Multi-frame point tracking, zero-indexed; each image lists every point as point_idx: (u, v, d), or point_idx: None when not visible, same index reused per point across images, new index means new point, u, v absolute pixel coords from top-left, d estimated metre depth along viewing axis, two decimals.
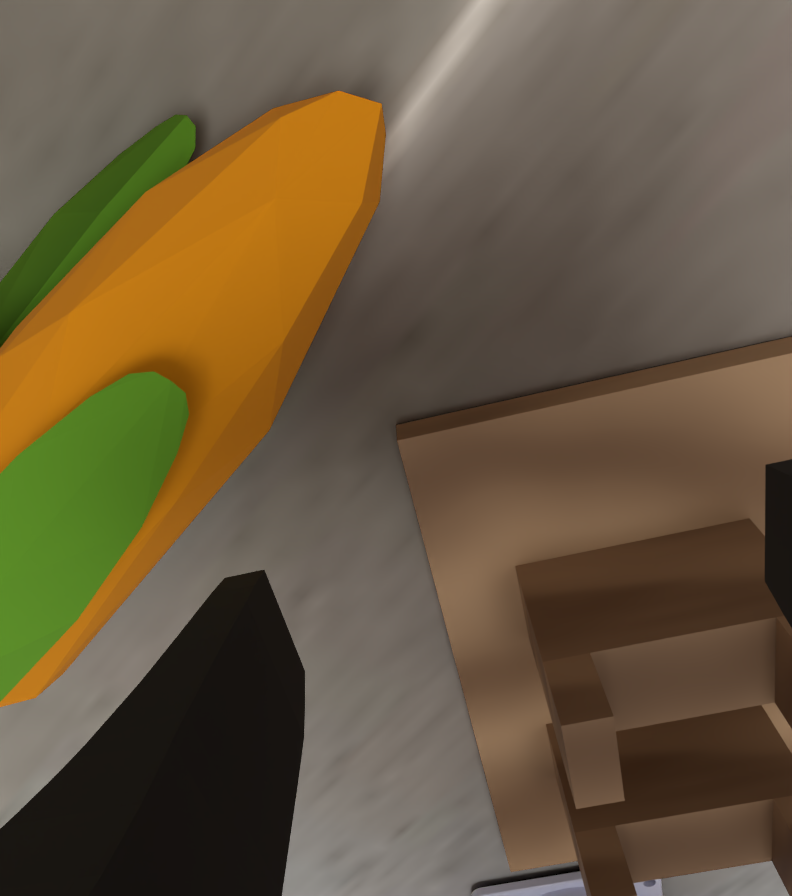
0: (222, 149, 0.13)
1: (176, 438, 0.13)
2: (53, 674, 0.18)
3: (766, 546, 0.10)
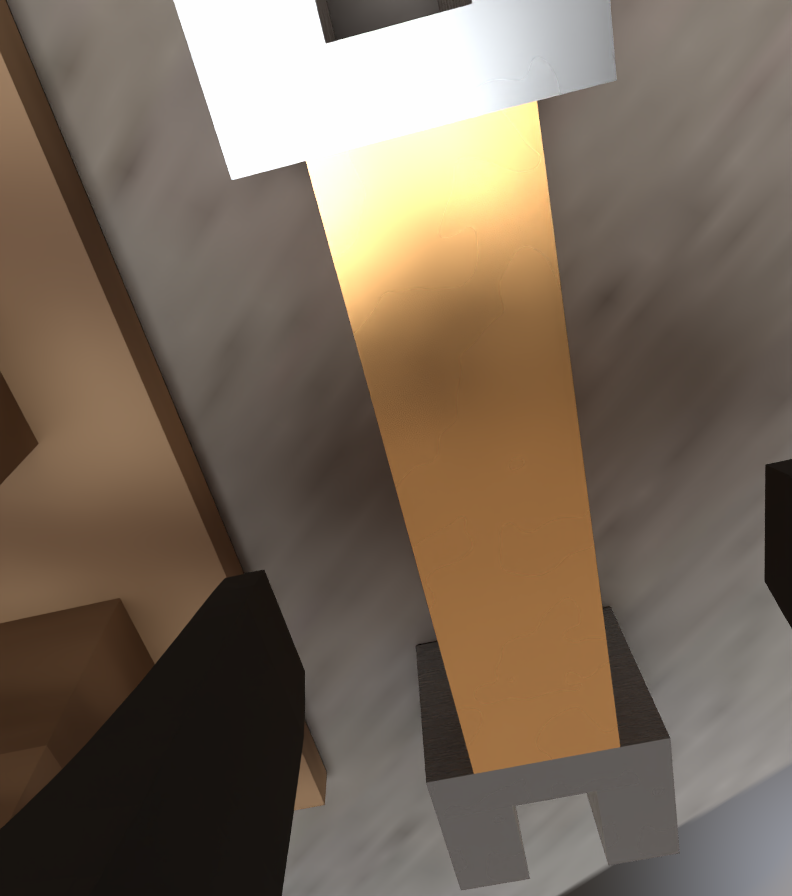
0: None
1: None
2: None
3: (766, 546, 0.10)
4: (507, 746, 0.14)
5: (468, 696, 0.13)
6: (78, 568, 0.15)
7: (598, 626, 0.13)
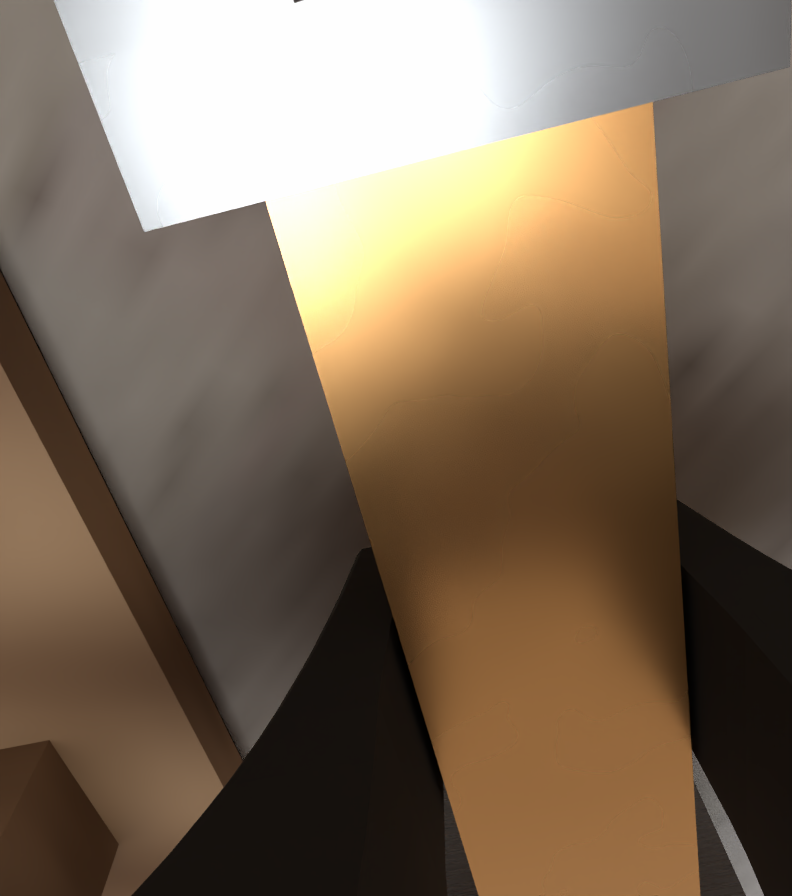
0: None
1: None
2: None
3: None
4: None
5: None
6: None
7: (687, 830, 0.09)
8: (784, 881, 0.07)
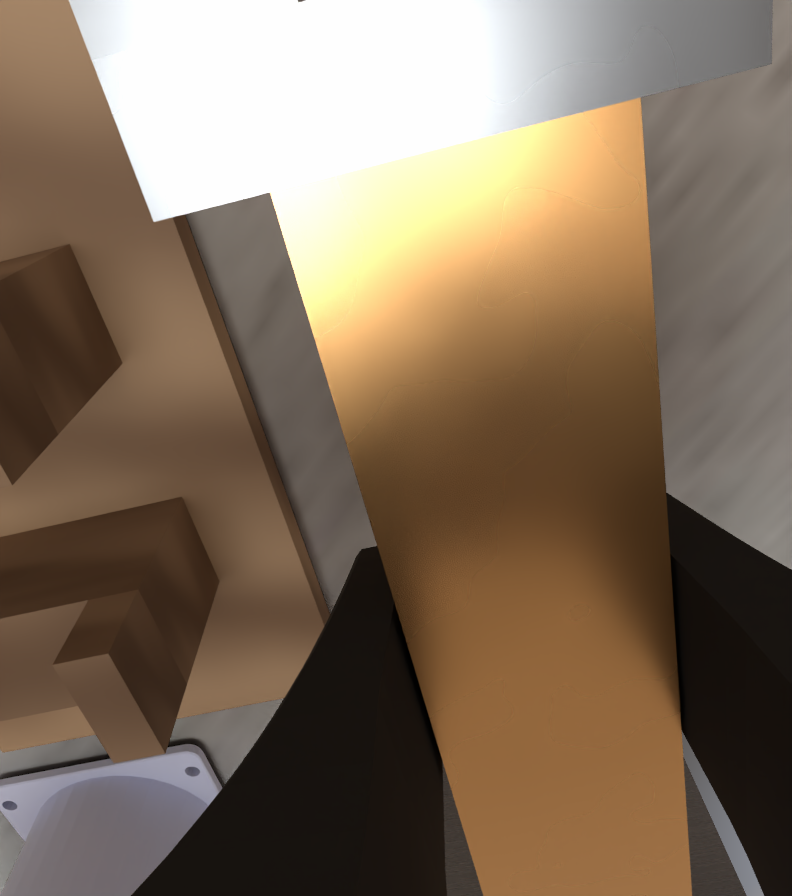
0: None
1: None
2: None
3: None
4: None
5: (500, 883, 0.10)
6: (149, 470, 0.19)
7: (677, 805, 0.10)
8: (784, 881, 0.07)
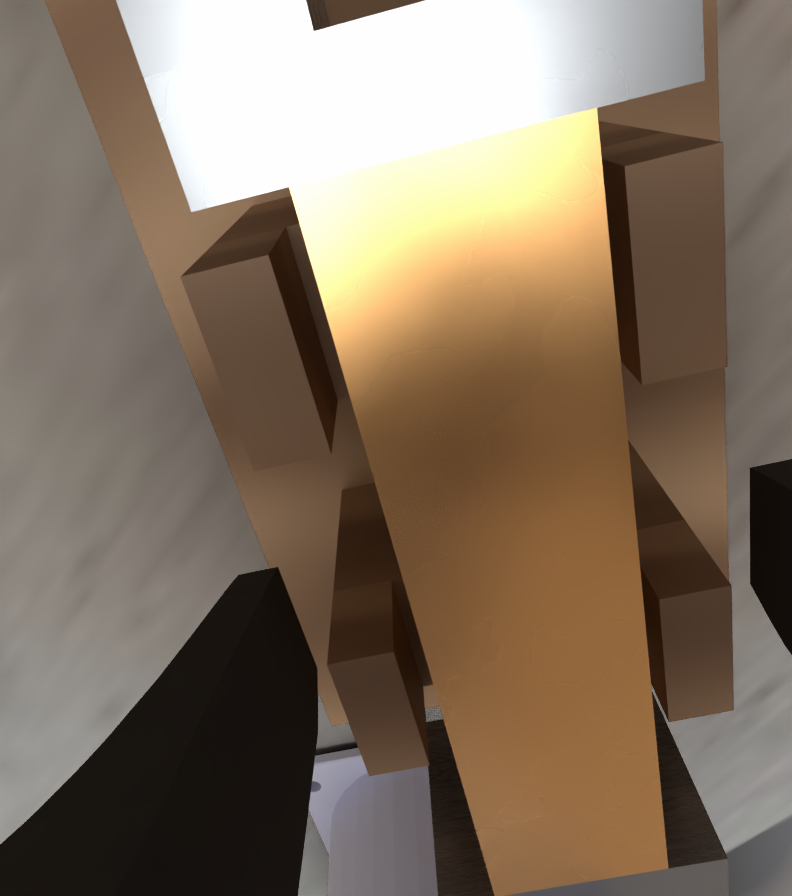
0: None
1: None
2: None
3: (751, 549, 0.10)
4: (535, 868, 0.12)
5: (489, 816, 0.11)
6: None
7: (648, 740, 0.11)
8: None
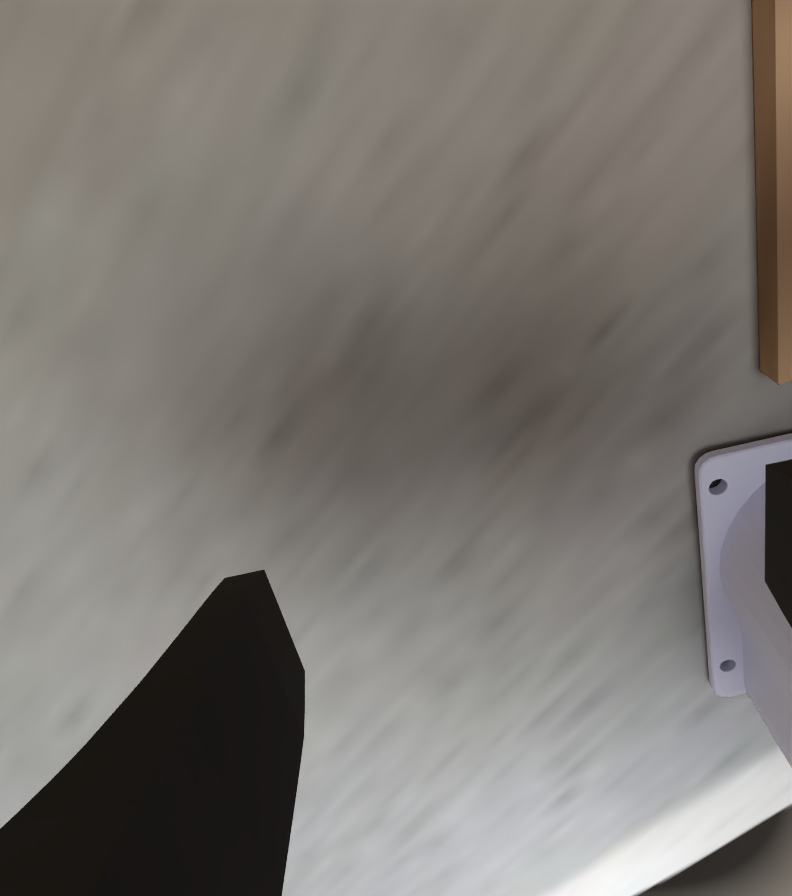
0: None
1: None
2: None
3: (766, 546, 0.10)
4: None
5: None
6: None
7: None
8: None
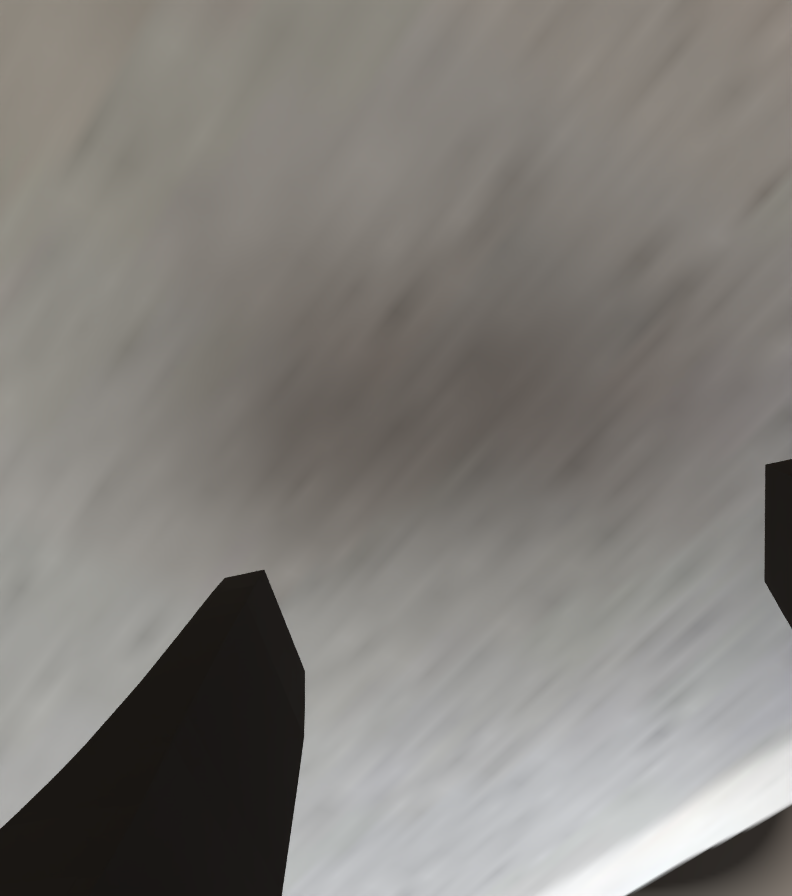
0: None
1: None
2: None
3: (766, 546, 0.10)
4: None
5: None
6: None
7: None
8: None
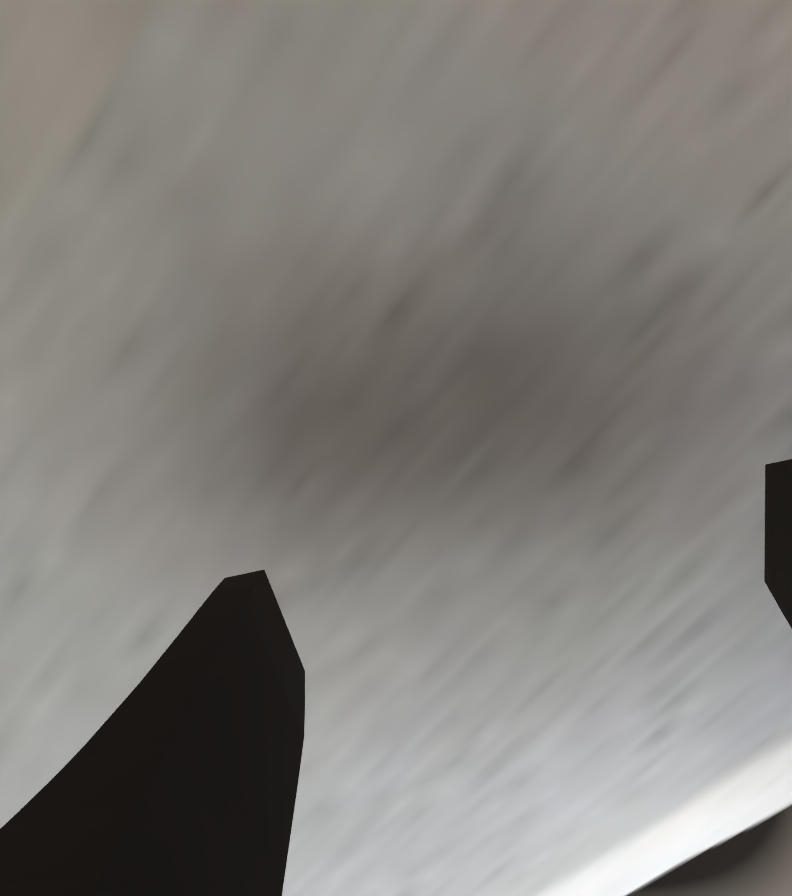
0: None
1: None
2: None
3: (766, 546, 0.10)
4: None
5: None
6: None
7: None
8: None
